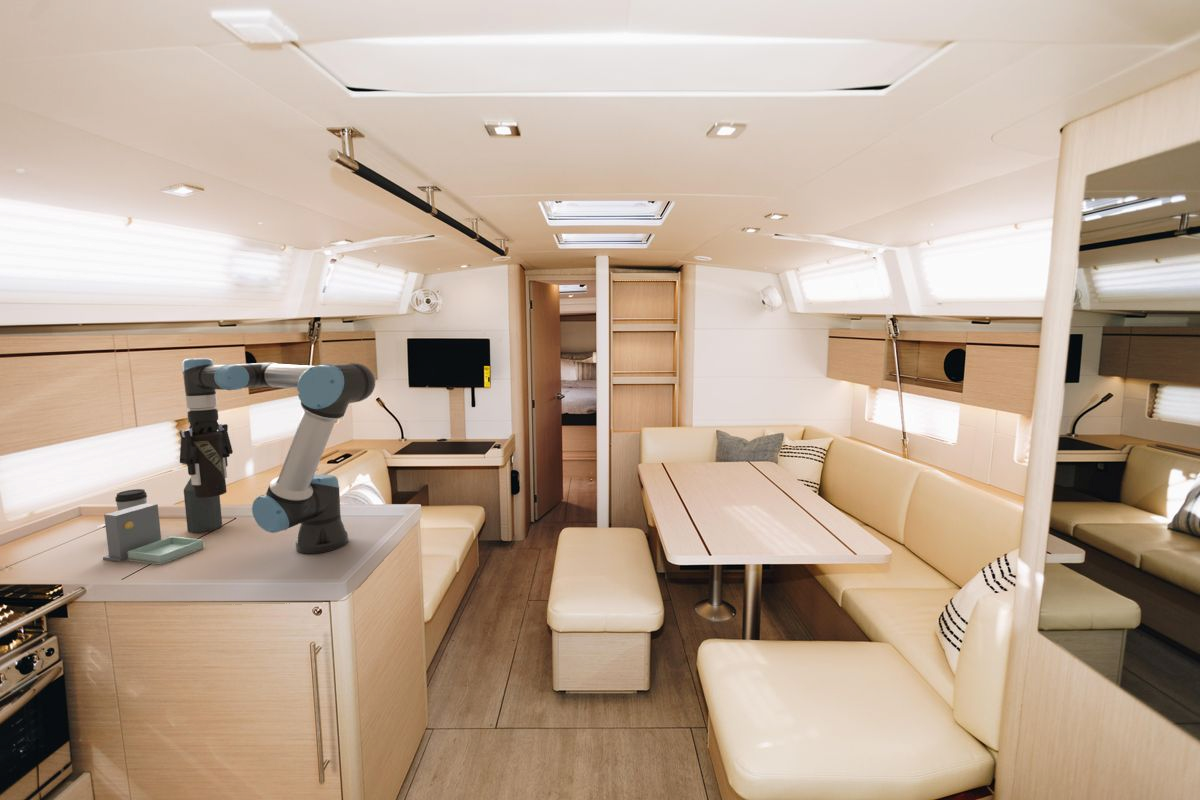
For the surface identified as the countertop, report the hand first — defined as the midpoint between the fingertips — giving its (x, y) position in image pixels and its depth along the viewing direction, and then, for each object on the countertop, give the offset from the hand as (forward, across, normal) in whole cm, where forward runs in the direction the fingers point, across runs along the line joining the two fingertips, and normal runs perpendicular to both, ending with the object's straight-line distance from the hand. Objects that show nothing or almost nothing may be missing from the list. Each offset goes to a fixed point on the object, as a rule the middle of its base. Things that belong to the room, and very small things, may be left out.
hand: (209, 481), depth 167 cm
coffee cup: (+23, -6, -44) cm, 50 cm away
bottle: (+23, -16, -25) cm, 37 cm away
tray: (+23, +5, -14) cm, 27 cm away
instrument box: (+23, +6, -26) cm, 35 cm away
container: (+5, 0, 0) cm, 5 cm away
